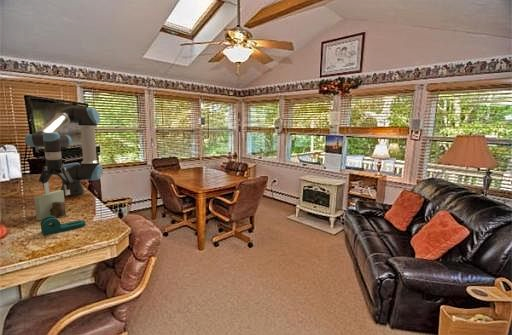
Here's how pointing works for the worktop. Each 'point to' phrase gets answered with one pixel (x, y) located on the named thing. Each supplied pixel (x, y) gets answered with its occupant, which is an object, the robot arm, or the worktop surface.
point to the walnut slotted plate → (58, 209)
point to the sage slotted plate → (47, 203)
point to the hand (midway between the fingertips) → (57, 194)
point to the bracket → (58, 225)
